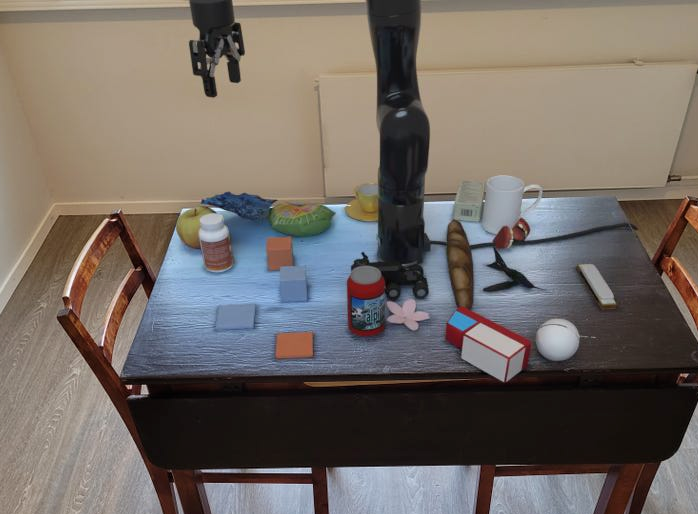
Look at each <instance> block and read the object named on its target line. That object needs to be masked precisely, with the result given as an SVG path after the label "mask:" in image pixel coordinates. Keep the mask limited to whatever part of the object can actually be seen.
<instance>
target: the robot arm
mask: <svg viewBox="0 0 698 514" xmlns="http://www.w3.org/2000/svg"><path fill="white" fill-rule="evenodd" d="M188 2H189V3H188V4H189V9H190V14H191V19H192V20H191V21H192V25H193V26H194V28H196V29H198V31H199V37H198V39H196V40H195V39H190V40H189V41H188V47H189V54H190V62H191V68H192V75H193V76H195V77H201V79H202V86H203V91H204V95H205V96H206V98H213V99H214V98H216V97H217V96H218V90H217V89H218V88H217V82H216V77H215V76H214V75H215V70H216V67H217V66H218V65H219V63H220V60H221V58H222V57H223V56H224V58H225V59H226V61H227V62H226V66H227V73H228V74H227V75H228V80H229V82H230V83H234V84H239V83H240V82H242V79H241V78H242V77H241V69H240V62H241V58H242V56H245V54H246V49H245V43H244V37H243V30H242V25H241V22H237V21H236V19H235V11H234V4H233V0H188ZM365 8H366V9H365V10H366V17H367V18H366V19H367V24H368V33H369V37H370V44H371V48H372V53H373V57H374V62H375V70H376V72H375V73H376V108H375V109H376V110H375V111H376V112H375V113H376V115H375V121H376V122H375V123H376V126H377V130H378V133H379V166H378V168H377V184H378V220H377V232H376V235H375V237H376V242H377V253H376V259H377V260H378V262H387V261H398V262H399V263H400V264H402V265H403V266H404V268H405V269H406V268H409V267H410V266H411V265H413V264H423V263H424V253H430V252H431V250H432V245H436V246H443V247H446V241H442V240H431V239H430V237H429V236H428V234H427V232H425V227H426V222H425V218H424V210H425V208H424V207H425V189H426V188H425V187H426V186H425V185H426V175H427V172H428V167H429V157H430V144H431V142H430V141H431V124H430V120H429V117H428V114H427V112H426V110H425V108H424V106H423V103H422V102H423V101H422V99H421V93H420V88H419V80H418V79H419V78H418V72H417V71H418V70H417V55H418V48H419V41H420V35H421V27H422V23H421V22H422V0H365ZM236 44H237V45H238V47H237V45H236ZM208 65H209V66H208ZM628 223H629V224H630V225H631V227H632V228H631V227H630V226H629V224H628ZM619 228H631V229H632V230H634V231H639V228H638V227H637V226H636V225H635V224H633V223H631V222H622V223H616V224H611V225H603V226H596V227H594V228H589V229H586V230H582V231H576V232H572V233H571V232H570V233H567V234H563V235H558V236H552V237H551V236H550V237H545V238H538V239H529V240H528V239H527V240H524V241H516V242H512V244H511V246H526V245H534V244H541V243H543V244H544V243H549V242H556V241H560V240H561V241H562V240H566V239H569V238H574V237H578V236H580V237H581V236H583V235H587V234H592V233H596V232H601V231H606V230H615V229H619ZM469 245H470V248H471V250H475V249H479V248H485V247H493V246H494V247H495V242H482V243H481V242H480V243H475V244H469ZM511 246H510V247H511Z"/></svg>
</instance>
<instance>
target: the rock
mask: <svg viewBox="0 0 698 514" xmlns="http://www.w3.org/2000/svg"><path fill="white" fill-rule="evenodd" d="M278 201H279V199H270V198H264V197H263V198H262V197H261V196H260V195H259V194H249V193H247V192H242V193H241V194H235V193H232V191H225V192H224V193H221V194H215V195H214V196H211V197H206V198H205V199H204V198H202V199H201V201H200V205H208V206H211V207H215V208H219V209H221V210H223V211H226V212H228V213H234V214H235V215H237V216H238V218H241V219H244V220H250V221H257V220H261V219H262V220H264V219H265V218H266V217H267V216H268V215H269V209H270V208H272V205H273V204H275V203H276V202H278Z"/></svg>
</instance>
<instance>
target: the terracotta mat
mask: <svg viewBox="0 0 698 514" xmlns="http://www.w3.org/2000/svg"><path fill="white" fill-rule="evenodd" d="M313 357H314V333H313V331H304V332H303V331H302V332H284V333H276V346H275V359H276V360H277V359H278V360H279V359H299V358H301V359H302V358H313Z"/></svg>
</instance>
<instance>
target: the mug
mask: <svg viewBox="0 0 698 514" xmlns="http://www.w3.org/2000/svg"><path fill="white" fill-rule="evenodd" d="M531 189H537V190H538V196H537V198H536V200H535V201H534V202H533V204H531V205H530V206H529V207H528V208H526V209H524V210H522V203H523V196H524V193H525V192H527V191H529V190H531ZM542 198H543V188H542V187H541V185H539V184H537V183H532V184H529V185H526V186H525V182H524V181H523V180H522V179H521V178H519V177H517V176H514V175H509V174H507V175H505V174H501V175H494V176H492V177H490V178H488V179H487V181H486V184H485V193H484V203H483V213H482V223H481V225H482V228H483V229H484V231H486V232H488V233H490V234H492V235H497V234H498V232H499V231H500V230H501V228H502V227H503V226H508V227H509V228H510V229H512V228H513V227H514V225H515V224H516V223H517V221H518V220H519V219H520V217H523V216H525V215H528V214H529V213H530V212H531V211H533V210H534V209H535V208H536V207H537V206H538V205H539V204H540V202H541V200H542Z"/></svg>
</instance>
